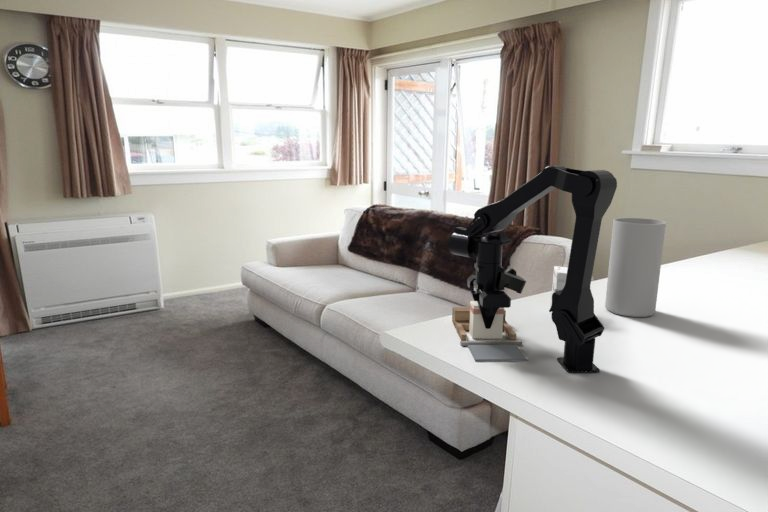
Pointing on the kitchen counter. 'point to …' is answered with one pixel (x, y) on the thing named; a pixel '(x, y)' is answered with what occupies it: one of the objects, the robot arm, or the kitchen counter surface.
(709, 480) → the kitchen counter surface
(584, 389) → the kitchen counter surface
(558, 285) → the ink box
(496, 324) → the block
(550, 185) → the robot arm
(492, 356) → the mat
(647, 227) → the cylinder vase
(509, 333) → the cradle
